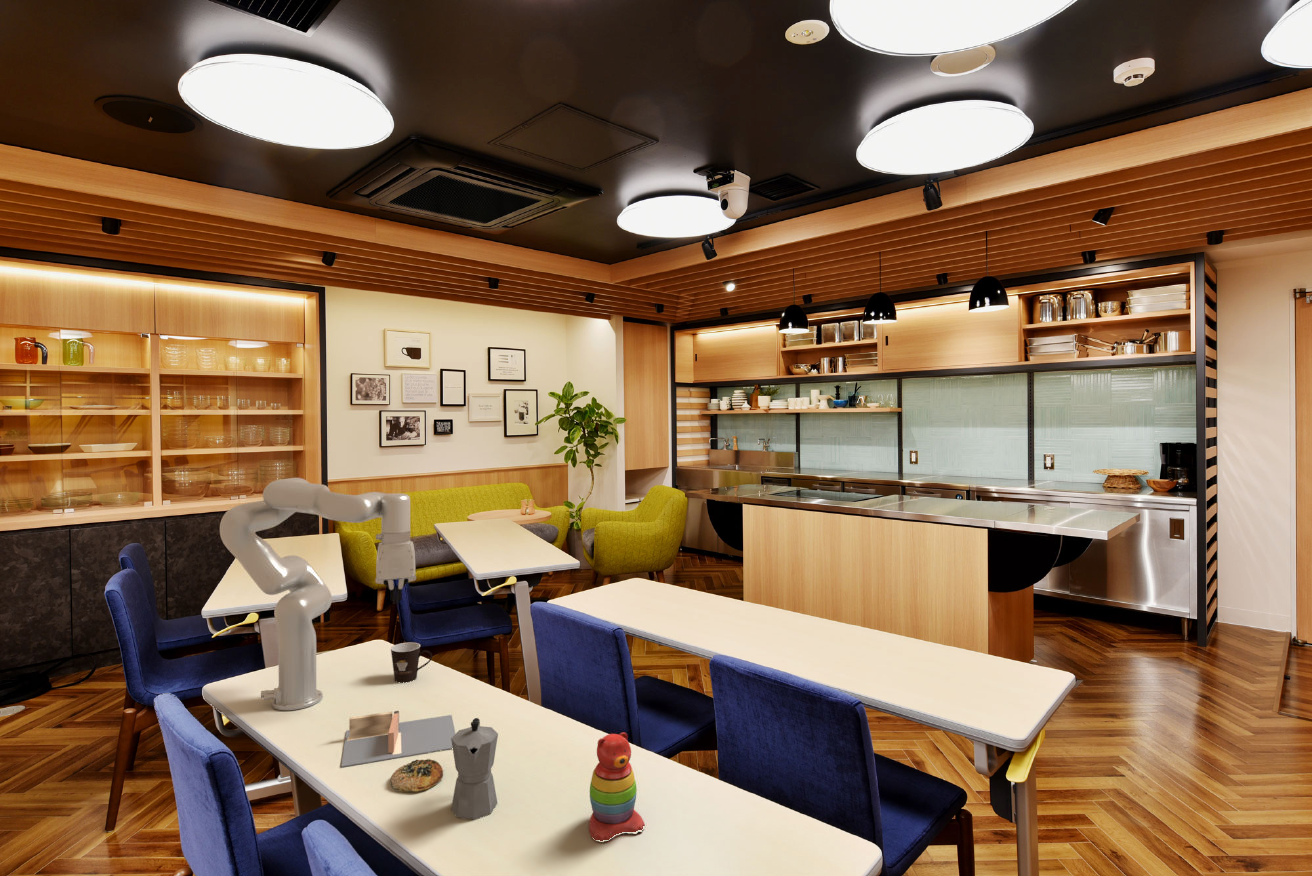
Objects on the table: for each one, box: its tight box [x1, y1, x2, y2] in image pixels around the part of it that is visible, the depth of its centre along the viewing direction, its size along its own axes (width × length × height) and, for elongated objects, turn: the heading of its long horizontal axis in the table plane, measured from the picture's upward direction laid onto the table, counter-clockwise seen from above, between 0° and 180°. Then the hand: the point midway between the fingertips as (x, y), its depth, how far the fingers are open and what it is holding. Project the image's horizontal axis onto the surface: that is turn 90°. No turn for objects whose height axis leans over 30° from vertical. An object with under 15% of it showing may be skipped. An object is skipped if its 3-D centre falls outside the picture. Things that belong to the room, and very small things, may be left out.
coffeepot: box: [451, 717, 499, 820], centre depth 139 cm, size 15×9×18 cm, turn 13°
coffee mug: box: [390, 642, 433, 684], centre depth 205 cm, size 12×9×10 cm
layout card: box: [340, 714, 456, 768], centre depth 166 cm, size 26×19×1 cm
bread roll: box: [390, 758, 444, 793], centre depth 148 cm, size 11×11×5 cm
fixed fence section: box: [348, 710, 400, 740], centre depth 168 cm, size 12×1×5 cm, turn 112°
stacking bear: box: [588, 732, 646, 841], centre depth 132 cm, size 11×10×18 cm
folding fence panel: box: [388, 712, 400, 753], centre depth 164 cm, size 11×1×5 cm, turn 16°
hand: (396, 602), depth 186 cm, fingers closed
